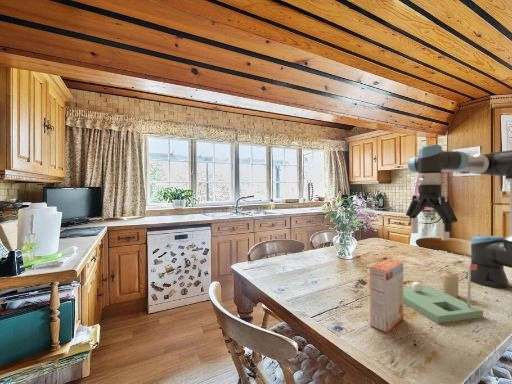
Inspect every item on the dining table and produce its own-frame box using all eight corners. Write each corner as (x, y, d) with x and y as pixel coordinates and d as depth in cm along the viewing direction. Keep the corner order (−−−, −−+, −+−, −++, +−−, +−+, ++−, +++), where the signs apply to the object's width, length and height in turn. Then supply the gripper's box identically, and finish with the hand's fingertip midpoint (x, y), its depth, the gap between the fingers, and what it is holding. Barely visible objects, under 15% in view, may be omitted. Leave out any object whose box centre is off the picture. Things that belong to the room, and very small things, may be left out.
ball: (417, 288, 104) (417, 280, 104) (425, 292, 100) (425, 283, 100) (409, 289, 103) (409, 280, 103) (417, 293, 99) (417, 284, 99)
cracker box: (386, 312, 89) (387, 258, 89) (404, 319, 85) (404, 262, 84) (368, 325, 81) (369, 265, 80) (387, 334, 76) (387, 270, 75)
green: (430, 290, 107) (430, 250, 107) (484, 316, 86) (485, 267, 85) (390, 294, 103) (390, 253, 103) (437, 323, 82) (438, 271, 81)
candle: (442, 290, 107) (442, 269, 107) (457, 294, 104) (458, 272, 104) (442, 295, 103) (442, 272, 103) (458, 298, 99) (458, 275, 99)
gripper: (397, 184, 106) (396, 230, 106) (453, 183, 81) (452, 244, 82) (411, 184, 107) (410, 230, 107) (470, 183, 82) (469, 243, 83)
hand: (428, 236), depth 94 cm, fingers open, 13 cm apart
